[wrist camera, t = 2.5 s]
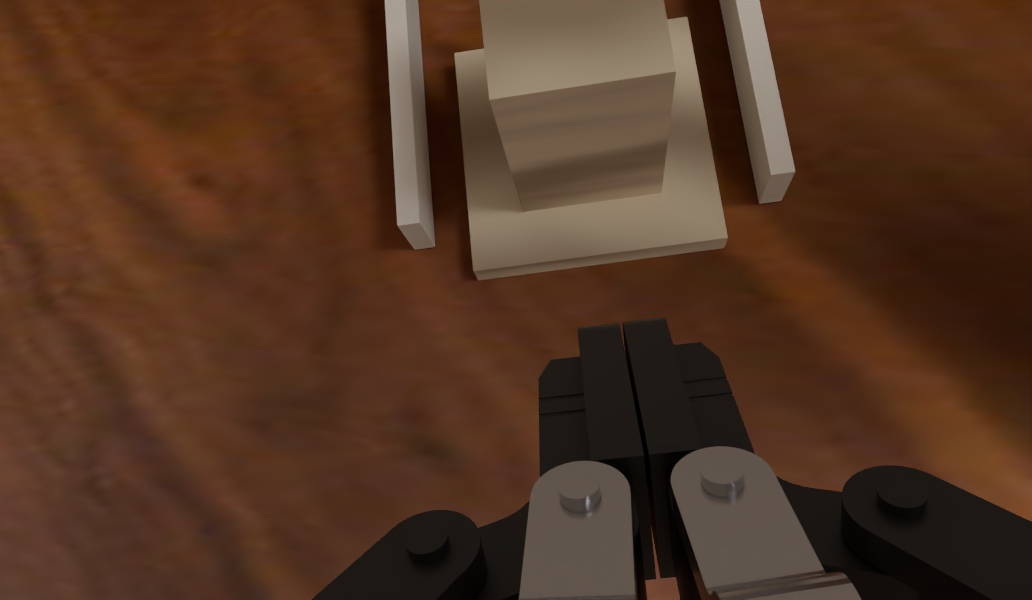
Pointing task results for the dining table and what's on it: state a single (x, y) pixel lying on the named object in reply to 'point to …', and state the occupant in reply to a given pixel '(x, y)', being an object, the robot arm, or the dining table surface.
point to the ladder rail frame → (411, 126)
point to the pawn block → (584, 137)
